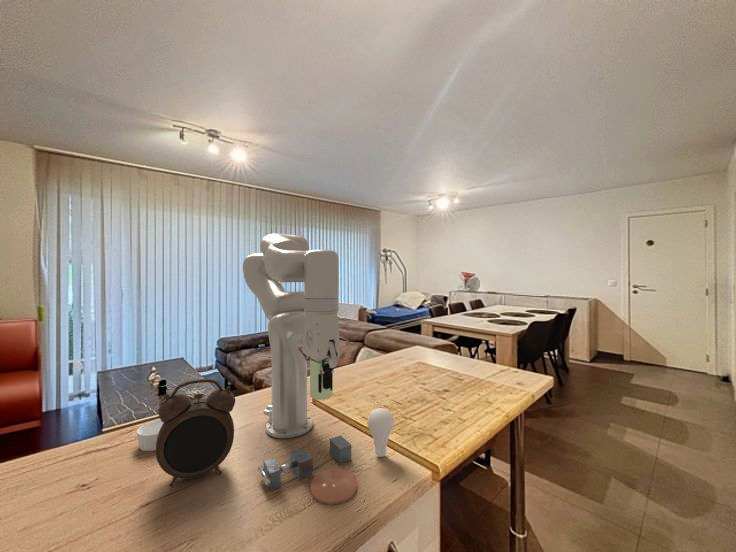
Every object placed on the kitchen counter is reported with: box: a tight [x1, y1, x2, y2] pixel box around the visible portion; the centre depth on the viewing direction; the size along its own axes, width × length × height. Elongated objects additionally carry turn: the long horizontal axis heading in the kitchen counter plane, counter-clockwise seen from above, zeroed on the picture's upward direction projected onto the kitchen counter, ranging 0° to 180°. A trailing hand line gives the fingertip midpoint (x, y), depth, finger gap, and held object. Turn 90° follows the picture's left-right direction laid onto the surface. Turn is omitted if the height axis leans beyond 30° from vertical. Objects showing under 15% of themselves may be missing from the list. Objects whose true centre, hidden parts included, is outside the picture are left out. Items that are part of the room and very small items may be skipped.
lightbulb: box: [367, 407, 395, 458], centre depth 72 cm, size 6×6×11 cm
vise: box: [257, 435, 352, 492], centre depth 68 cm, size 6×19×4 cm, turn 124°
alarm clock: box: [155, 378, 236, 488], centre depth 65 cm, size 15×7×20 cm, turn 117°
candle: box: [309, 359, 334, 400], centre depth 70 cm, size 5×5×8 cm
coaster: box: [310, 468, 358, 505], centre depth 62 cm, size 9×9×1 cm
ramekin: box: [136, 418, 164, 452], centre depth 78 cm, size 9×9×4 cm
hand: (321, 387), depth 70 cm, fingers closed on candle, 3 cm apart
